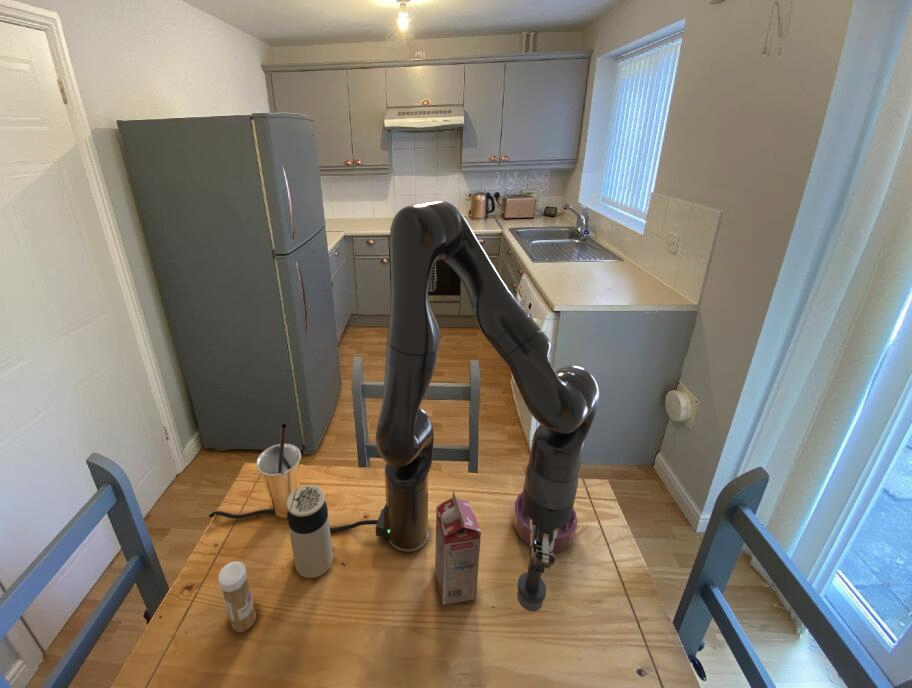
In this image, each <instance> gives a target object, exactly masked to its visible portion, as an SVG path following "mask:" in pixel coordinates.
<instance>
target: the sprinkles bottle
mask: <svg viewBox="0 0 912 688" xmlns="http://www.w3.org/2000/svg"><path fill="white" fill-rule="evenodd" d="M247 575H248V573H247V568H246V566H245V564H244V563H243V562H241V561H238V560H235V561H231V562H228V563H227V564H225V565H224V566H223V567H222V568H221V570H220V571H219V573H218V576H217V577H218V578H217V579H218V584H219V587H220V589H221V591H222V595H223V601H224V603H225V607H226V610H227V614H228V617H229V619H230V625H231V628H232V630H233V631H235V632H236V633H243V632H245V631H248V630H249V629H250V628H251V627H252V626H253V624H254V623H255V621H256V618H257V613H256V610H255V607H254V600H253V597H252V593H251V590H250V586H249V581H248V577H247Z"/></svg>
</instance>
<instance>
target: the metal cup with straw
mask: <svg viewBox="0 0 912 688" xmlns="http://www.w3.org/2000/svg"><path fill="white" fill-rule="evenodd" d="M286 432H287V424H286V423H283V424H281V431H280V442H279V443H278V444H274V445H272V446H269V447H268V448H266V449H264V450H263V451H262V452H261V453H260V454H259V456H258V457H257V460H256V468H257V470H258V472H260V474H261V477H262V480H263V484H264V486H265V488H266V492H267V495H268V497H269V501H270V503H271V507H272V509H273V510H274V511H275V513H276V514H274V515H275V516H277V517H278V518H283V519H284V518H285V519H286V518H287V512H288V509H287V505H286V503H287V499H288V497H289V495H290V494H291V493H292V492H293V491H294V490H295V489H297V488H299V487H301V486H300V485H301V470H300V469H301V467H300V466H301V465H300V462H301V459H302V453H301V450H300V449H299V447H298V446H296V445H294V444H291V443H286V442H285V441H286V434H287V433H286Z"/></svg>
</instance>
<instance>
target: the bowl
mask: <svg viewBox="0 0 912 688" xmlns="http://www.w3.org/2000/svg"><path fill="white" fill-rule="evenodd" d="M522 495H523V491H522V492H521V493H519V494H518V495H517V496H516V499H515V501H514V506H513V514H512V524H513V527H514V530H515V533H517V535H518V536H519V538H520V539H521V540H522V541H523V542H524V543H525V544H527V545H528V546H529V547H530V544H531V540H530V539H531V529H530V518H529V517H528V516H527V514H526V513H525V511H524V509H523V507H522ZM577 526H578V517H577V513H576V510H575V509H574V507H573V511H572V515H571V519H570V520H569V522H568V523H567V524H566V525H564V526H562V527H559V528H558V533H557V537H556V538H555V541H554V547H553V551H551V552H552V553H553V554H554V553H561V552H564V551H565V550H568V549H569V548H570V547H571V545H573V543H574V539H575V536H576V533H577V532H576V531H577Z"/></svg>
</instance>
